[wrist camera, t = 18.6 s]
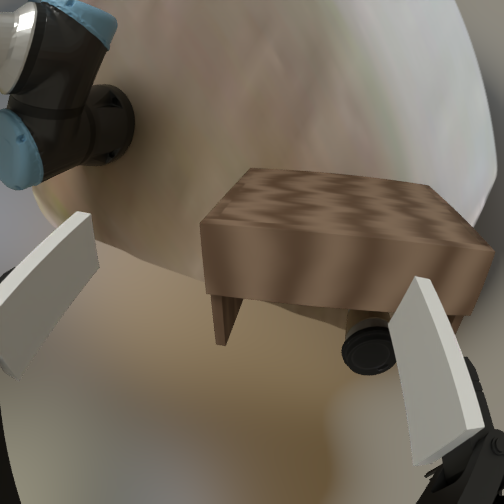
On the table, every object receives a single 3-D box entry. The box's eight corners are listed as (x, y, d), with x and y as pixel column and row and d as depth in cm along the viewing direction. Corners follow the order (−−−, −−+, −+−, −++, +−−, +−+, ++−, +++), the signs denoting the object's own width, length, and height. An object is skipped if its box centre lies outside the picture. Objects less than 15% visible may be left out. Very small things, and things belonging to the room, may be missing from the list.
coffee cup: (374, 323, 55) (383, 383, 42) (331, 310, 56) (331, 371, 43) (398, 286, 51) (415, 344, 38) (352, 270, 51) (359, 328, 38)
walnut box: (251, 259, 54) (213, 351, 35) (250, 168, 46) (199, 223, 27) (409, 274, 49) (443, 369, 30) (428, 185, 41) (495, 251, 22)
